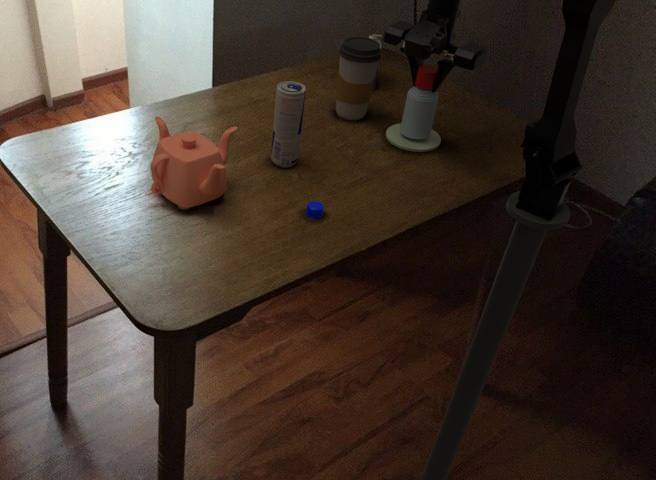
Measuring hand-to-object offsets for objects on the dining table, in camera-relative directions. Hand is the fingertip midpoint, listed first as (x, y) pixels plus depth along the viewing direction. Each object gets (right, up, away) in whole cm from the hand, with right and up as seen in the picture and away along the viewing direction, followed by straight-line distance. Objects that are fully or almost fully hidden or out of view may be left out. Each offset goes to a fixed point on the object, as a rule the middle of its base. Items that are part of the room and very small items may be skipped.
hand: (424, 88), depth 135 cm
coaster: (-1, -8, +7) cm, 11 cm away
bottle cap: (-22, -26, -15) cm, 38 cm away
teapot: (-43, -22, -13) cm, 50 cm away
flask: (-6, +10, +27) cm, 29 cm away
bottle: (0, -7, +6) cm, 9 cm away
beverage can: (-27, -15, -3) cm, 31 cm away
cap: (0, +1, 0) cm, 1 cm away
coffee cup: (-12, -1, +14) cm, 19 cm away
